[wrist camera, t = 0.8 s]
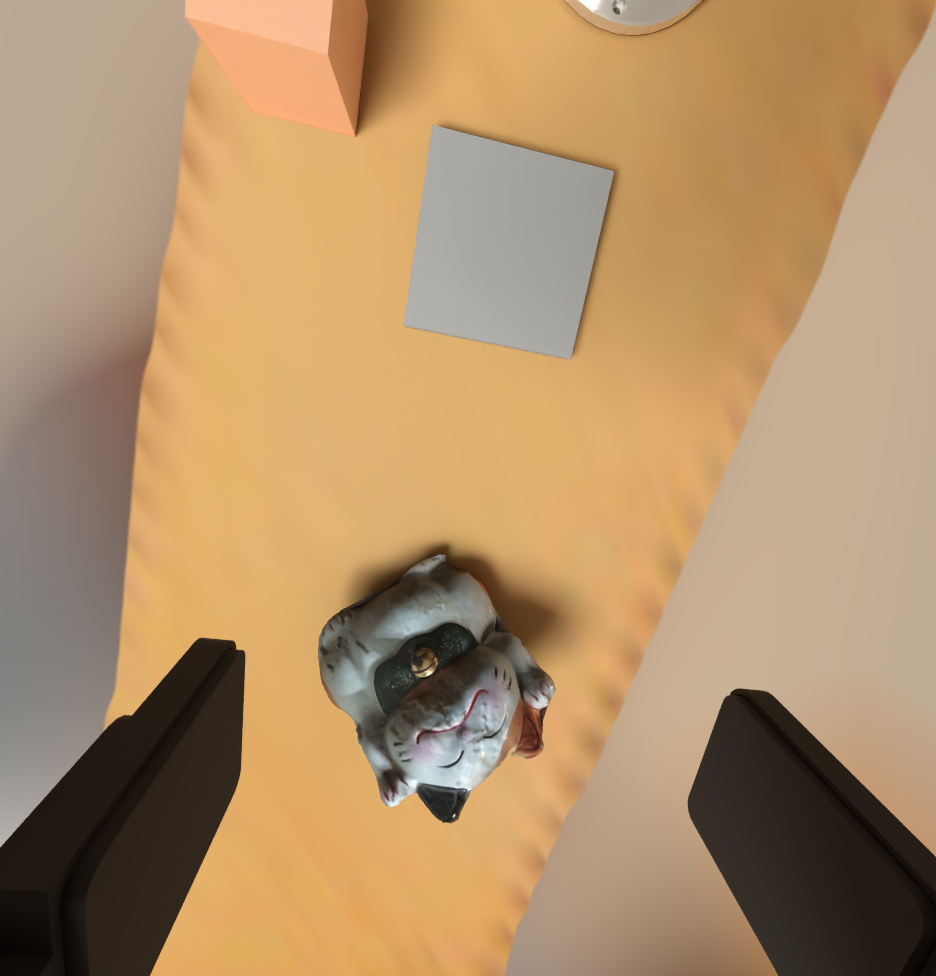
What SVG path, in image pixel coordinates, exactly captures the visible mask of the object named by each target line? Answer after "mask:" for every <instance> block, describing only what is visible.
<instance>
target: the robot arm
mask: <svg viewBox="0 0 936 976" xmlns="http://www.w3.org/2000/svg"><path fill="white" fill-rule="evenodd" d="M565 1H566V2H567V3H568V4H569V5H570V6H571V7H572V8H573V9H574V10H575V11H576V12H577V13H578V14H579V15H580V16H581V17H583V18H584V19H586V20H587V21H589V22H590V23H592V24H593V25H595V26H597V27H599V28H602V29H604V30H607V31H610V32H613V33H617V34H626V35H639V34H647V33H653V32H656V31H658V30H661V29H664V28H666V27H669V26H671V25H672V24H674V23H676V22H677V21H679V20H680V19H682V18H683V17H685V16H686V15H688V14H689V13H690V12H691V11H692V10H693V9H694V8H695V7H696V6H697V5H698V4H699V3H700V2H701V1H702V0H565ZM244 679H245V652H244V651H243V650H236V644H235V642H234V641H231V640H220V639H209V638H199V639H198V640H196V641H195V642H194V643H193V645H192V646H191V647H190V648H189V649H188V651H187V652H186V653H185V654H184V655H183V656H182V658H181V659H180V660H179V661H178V662H177V663H176V665H175V666H174V667H173V668H172V669H171V670H170V672H169V673H168V674H167V675H166V676H165V677H164V679H163V680H162V681H161V682H160V683H159V685H158V686H157V687H156V688H155V689H154V690H153V692H152V693H151V694H150V695H149V696H148V697H147V699H146V700H145V701H144V702H143V703H142V704H141V706H140V707H139V708H138V709H137V710H136V711H135V713H134V714H133V715H132V716H129V715H124V716H121V717H119V718H117V719H116V720H115V721H114V722H113V723H112V724H111V725H109V726H108V727H107V729H106V730H105V731H104V732H103V733H102V734H101V735H100V737H99V738H98V739H97V740H96V741H95V742H94V743H93V744H92V745H91V746H90V748H89V749H88V750H87V751H86V752H85V753H84V755H82V757H81V758H80V759H79V760H78V761H77V762H76V763H75V764H74V766H73V767H72V768H71V769H70V770H69V771H68V772H67V773H66V775H65V776H64V777H63V778H62V779H61V780H60V781H59V782H58V783H57V785H56V786H55V787H54V788H53V789H52V790H51V791H50V793H49V794H48V795H47V796H46V797H45V798H44V799H43V801H42V802H41V803H40V804H39V805H38V806H37V807H36V808H35V809H34V810H33V812H32V813H31V814H30V815H29V816H28V817H27V818H26V819H25V820H24V822H23V823H22V824H21V825H20V826H19V827H18V828H17V829H16V831H15V832H14V833H13V834H12V835H11V836H10V837H9V838H8V840H7V841H6V842H5V843H4V844H3V845H2V846H1V847H0V976H150V974H151V972H152V970H153V968H154V965H155V963H156V961H157V959H158V957H159V955H160V952H161V950H162V948H163V946H164V944H165V942H166V939H167V937H168V935H169V933H170V931H171V929H172V927H173V924H174V922H175V920H176V918H177V916H178V914H179V911H180V909H181V907H182V905H183V903H184V901H185V898H186V896H187V894H188V892H189V890H190V888H191V886H192V883H193V881H194V879H195V877H196V875H197V873H198V870H199V868H200V866H201V864H202V862H203V860H204V857H205V855H206V853H207V851H208V849H209V847H210V845H211V842H212V840H213V838H214V836H215V834H216V832H217V829H218V827H219V825H220V823H221V821H222V819H223V816H224V814H225V812H226V810H227V808H228V806H229V804H230V801H231V799H232V797H233V795H234V792H235V790H236V787H237V784H238V781H239V777H240V771H241V752H242V728H243V703H244ZM688 810H689V814H690V817H691V820H692V821H693V824H694V825H695V827H696V829H697V831H698V833H699V834H700V836H701V838H702V840H703V841H704V843H705V845H706V847H707V849H708V850H709V852H710V854H711V856H712V858H713V859H714V861H715V863H716V864H717V866H718V868H719V870H720V872H721V873H722V875H723V877H724V879H725V881H726V883H727V884H728V886H729V888H730V889H731V891H732V893H733V895H734V897H735V899H736V901H737V902H738V904H739V906H740V908H741V909H742V911H743V913H744V915H745V917H746V918H747V920H748V922H749V924H750V926H751V927H752V929H753V931H754V933H755V934H756V936H757V938H758V940H759V942H760V943H761V945H762V947H763V949H764V950H765V952H766V954H767V956H768V958H769V960H770V961H771V963H772V965H773V967H774V968H775V970H776V972H777V974H778V976H936V857H935V856H934V855H933V854H932V853H931V852H930V851H929V850H928V849H927V848H926V847H925V846H924V845H923V844H922V843H921V842H920V841H919V840H918V839H917V838H916V837H915V836H914V835H913V834H912V833H911V832H910V831H909V830H908V829H907V828H906V827H905V826H904V825H903V824H902V823H901V822H900V821H899V820H898V819H897V818H896V817H895V816H894V815H893V814H892V813H891V812H890V811H889V810H888V809H887V808H886V807H885V806H884V805H883V804H882V803H881V802H880V801H879V800H878V799H877V798H876V797H875V796H874V795H873V794H872V793H871V792H870V791H869V790H868V789H867V788H866V787H865V786H864V785H863V784H861V782H859V780H857V779H856V777H855V776H854V775H852V774H851V772H850V771H849V770H848V769H847V768H845V767H844V766H843V765H842V764H841V763H840V762H839V761H838V760H837V759H836V758H835V757H834V756H833V755H832V754H831V753H830V752H829V751H828V750H827V749H826V748H825V747H824V746H823V745H822V744H821V743H820V742H819V741H818V740H817V739H816V738H815V737H814V736H813V735H812V734H811V733H810V732H809V731H808V730H807V729H806V728H805V727H804V726H803V725H802V724H801V723H800V722H799V721H798V720H797V719H796V718H795V717H794V716H793V715H792V714H791V713H790V712H789V711H788V710H787V709H786V708H785V707H784V706H783V705H782V704H781V703H780V702H779V701H778V700H777V699H776V698H775V697H774V696H773V695H771V694H770V693H769V692H766V691H760V690H749V689H735V690H733V691H732V692H731V694H730V696H727V697H725V699H724V701H723V703H722V705H721V708H720V711H719V714H718V717H717V720H716V722H715V725H714V728H713V730H712V733H711V736H710V739H709V742H708V744H707V747H706V750H705V753H704V755H703V758H702V761H701V764H700V767H699V769H698V772H697V775H696V778H695V781H694V783H693V786H692V789H691V792H690V794H689V797H688Z"/></svg>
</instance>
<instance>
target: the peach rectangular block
mask: <svg viewBox="0 0 936 976" xmlns="http://www.w3.org/2000/svg"><path fill="white" fill-rule="evenodd" d="M185 17H186V19H187V20H188V22H189V23H190V24H191V26H192V27H193V29H194V30H195V31H196V33H197V34H198V36H199V37H200V39H201V40H202V41H203V43H204V44H205V46H206V47H207V49H208V50H209V51H210V53H211V54H212V56H213V57H214V58H215V60H216V61H217V63H218V64H219V66H220V67H221V68H222V70H223V71H224V73H225V74H226V76H227V77H228V78H229V80H230V81H231V83H232V84H233V85H234V87H235V88H236V90H237V91H238V93H239V94H240V95H241V97H242V98H243V100H244V101H245V102H246V104H247V105H248V107H249V108H250V110H251V111H252V112H256V113H260V114H264V115H268V116H272V117H276V118H280V119H284V120H288V121H292V122H296V123H300V124H304V125H308V126H313V127H317V128H321V129H325V130H329V131H333V132H337V133H341V134H345V135H349V136H353V137H355V135H356V126H357V117H358V108H359V99H360V90H361V80H362V71H363V62H364V53H365V44H366V35H367V26H368V13H367V7H366V2H365V0H185Z"/></svg>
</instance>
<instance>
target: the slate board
mask: <svg viewBox="0 0 936 976" xmlns="http://www.w3.org/2000/svg"><path fill="white" fill-rule="evenodd" d="M613 175H614V171H611V170H607V169H604V168H600V167H596V166H592V165H588V164H584V163H580V162H576V161H572V160H568V159H564V158H560V157H556V156H553V155H549V154H545V153H541V152H537V151H533V150H529V149H525V148H521V147H517V146H513V145H509V144H505V143H502V142H498V141H494V140H490V139H486V138H482V137H478V136H474V135H470V134H466V133H462V132H458V131H454V130H451V129H447V128H443V127H439V126H435V125H432V132H431V139H430V146H429V153H428V160H427V167H426V174H425V181H424V187H423V194H422V201H421V208H420V215H419V222H418V229H417V236H416V243H415V250H414V257H413V264H412V271H411V278H410V285H409V292H408V299H407V306H406V313H405V320H404V327H408V328H413V329H418V330H423V331H428V332H433V333H438V334H443V335H448V336H453V337H458V338H463V339H468V340H473V341H478V342H483V343H488V344H493V345H498V346H503V347H508V348H513V349H518V350H523V351H528V352H533V353H538V354H543V355H548V356H553V357H557V358H562V359H571V357H572V352H573V348H574V344H575V339H576V335H577V331H578V326H579V322H580V318H581V313H582V309H583V305H584V300H585V296H586V292H587V287H588V283H589V279H590V275H591V270H592V266H593V262H594V257H595V253H596V249H597V244H598V240H599V236H600V231H601V227H602V223H603V218H604V214H605V210H606V205H607V201H608V197H609V192H610V188H611V184H612V179H613Z"/></svg>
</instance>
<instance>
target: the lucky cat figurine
mask: <svg viewBox="0 0 936 976" xmlns="http://www.w3.org/2000/svg"><path fill="white" fill-rule="evenodd" d="M318 659H319V666H320V675H321V680H322V684H323V686H324V689H325V691H326V692H327V694H328V697H329V698H330V700H331V701H332V703H333V704H334V705H335V706H337V707H338V708H339V709H341V710H343V711H344V712H345V713H347V714H348V715H349V716H350V717H351V718H352V719H353V720H354V722H355V725H356V726H357V728H356V732H357V734H358V741H359V744H360V745H361V746H362V749H363V751H364V754H365V755H366V758H367V759H368V761H369V763H370V765H371V767H372V769H373V771H374V773H375V775H376V778H377V782H378V786H379V791H380V795H381V800H382V802H383V803H384V804H385V805H386V806H390V807H393V806H395V805H398V804H399V803H400V802H401V801H402V800H403V799H404V798H406V797H407V796H409V795H411V794H413V793H417V794H418V795H419V798H420V799H421V800H422V801H423V802H424V804H425V805H426V806H427V808H428V809H429V810H430V811H431V813H432V814H433V815H434V816H435V817H436V818H437V819H439V820H441V821H442V822H443V823H445V822H447V823H452V822H455V821H456V820H458V818H459V815H460V812H461V810H462V808H463V806H464V804H465V802H466V801H467V799H468V797H469V795H470V793H471V791H472V789H473V788H474V787H475V786H476V785H478V784H480V783H482V782H483V781H484V780H485V779H486V778H487V777H488V776H489V775H490V774H491V773H492V771H493V770H494V769H495V768H496V767H498V766H499V765H500V763H501V762H502V761H503V760H504V759H505V758H506V756H507V754H508V752H509V751H512V754H511V757H512V756H523V757H525V758H526V759H528V758H532V757H535V756H537V755H538V754H540V753H541V752H542V750H543V745H544V744H543V741H542V731H543V718H544V715H545V712H546V709H547V707H548V704H549V702H550V700H551V698H552V696H553V694H554V692H555V686H554V682H553V680H552V678H551V677H550V676H549V675H548V674H547V673H546V672H545V671H543V670H542V669H541V668H540V667H539V666H538V664H537V663H536V661H535V660H534V658H533V657H532V655H531V654H530V652H529V651H528V650H526V649H525V647H524V646H522V642H521V641H520V639H519V638H518V637H516V636H515V635H514V634H513V633H512V632H511V631H510V630H509V629H508V628H507V627H506V625H505V624H504V623H503V621H502V620H501V618H500V617H499V615H498V614H497V612H496V611H495V609H494V607H493V605H492V603H491V600H490V598H489V595H488V592H487V591H486V588H485V586H484V585H483V584H482V583H481V582H480V581H479V580H477V579H476V578H475V577H473V576H472V574H471V573H470V572H468V571H467V572H463V571H460V570H458V569H456V568H454V567H453V566H451V565H450V564H449V563H448V562H447V561H446V555H441V554H440V555H437V556H434V557H431V558H428V559H425V560H422V561H420V562H419V563H418V564H416V565H415V566H413V567H412V568H411V569H409V570H408V571H407V572H406V573H405V574H404V575H403V576H402V577H401V578H399V579H398V580H396V581H395V582H394V583H392V584H391V585H389V586H388V587H386V588H384V589H382V590H380V591H378V592H376V593H375V594H373V595H371V596H369V597H367V598H365V599H363V600H361V601H359V602H357V603H355V604H353V605H351V606H349V607H347V608H345V609H343V610H341V611H340V612H339V613H337V614H336V615H334V616H333V617H332V618H331V619H330V620H329V621H328V622H327V623H326V625H325V626H324V627H323V630H322V633H321V634H320V637H319V648H318Z"/></svg>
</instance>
